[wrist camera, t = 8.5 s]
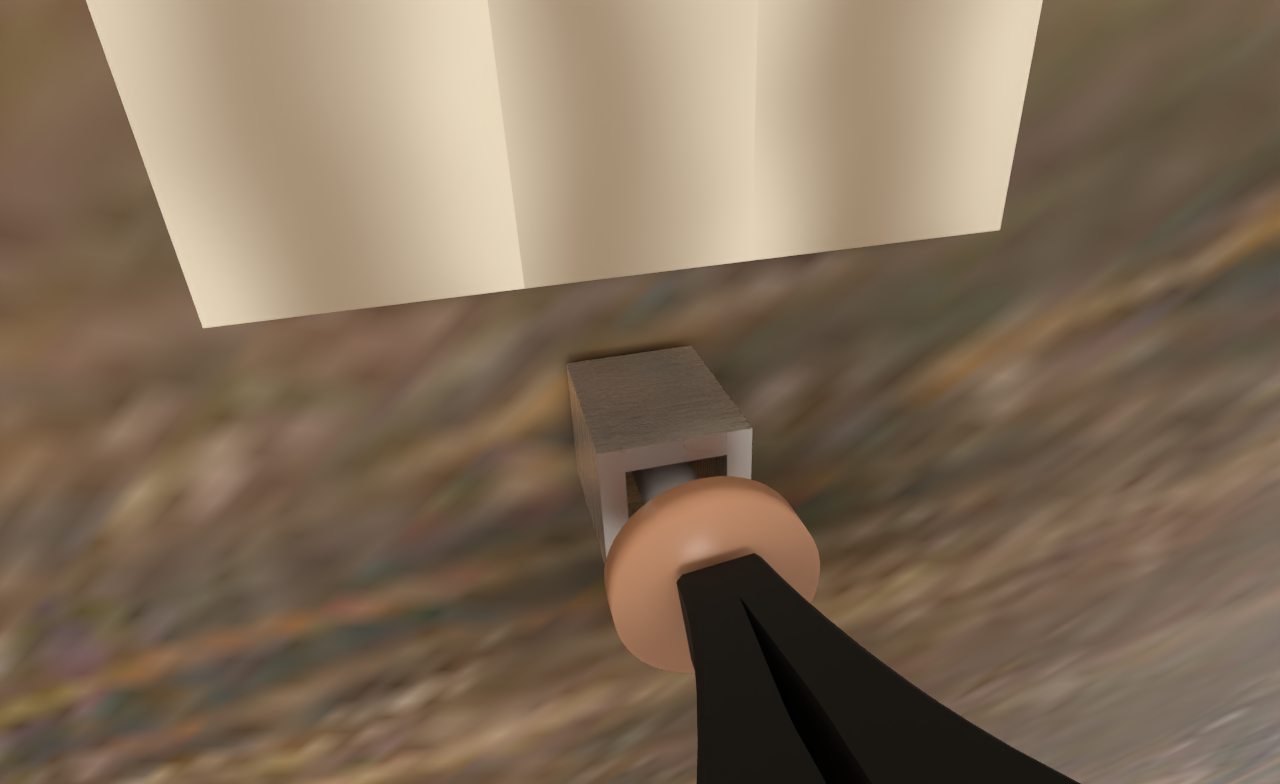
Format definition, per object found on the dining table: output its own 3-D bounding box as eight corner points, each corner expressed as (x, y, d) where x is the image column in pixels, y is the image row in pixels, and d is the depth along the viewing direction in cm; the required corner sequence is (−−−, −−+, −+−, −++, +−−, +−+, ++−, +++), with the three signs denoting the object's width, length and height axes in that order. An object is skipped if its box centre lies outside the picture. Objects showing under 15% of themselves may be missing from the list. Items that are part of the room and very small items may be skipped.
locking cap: (735, 371, 15) (827, 485, 12) (733, 509, 17) (813, 648, 13) (565, 397, 15) (605, 527, 11) (580, 538, 16) (619, 693, 13)
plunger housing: (691, 345, 17) (752, 428, 14) (693, 452, 19) (749, 551, 15) (566, 363, 17) (596, 454, 13) (577, 471, 18) (608, 579, 15)
